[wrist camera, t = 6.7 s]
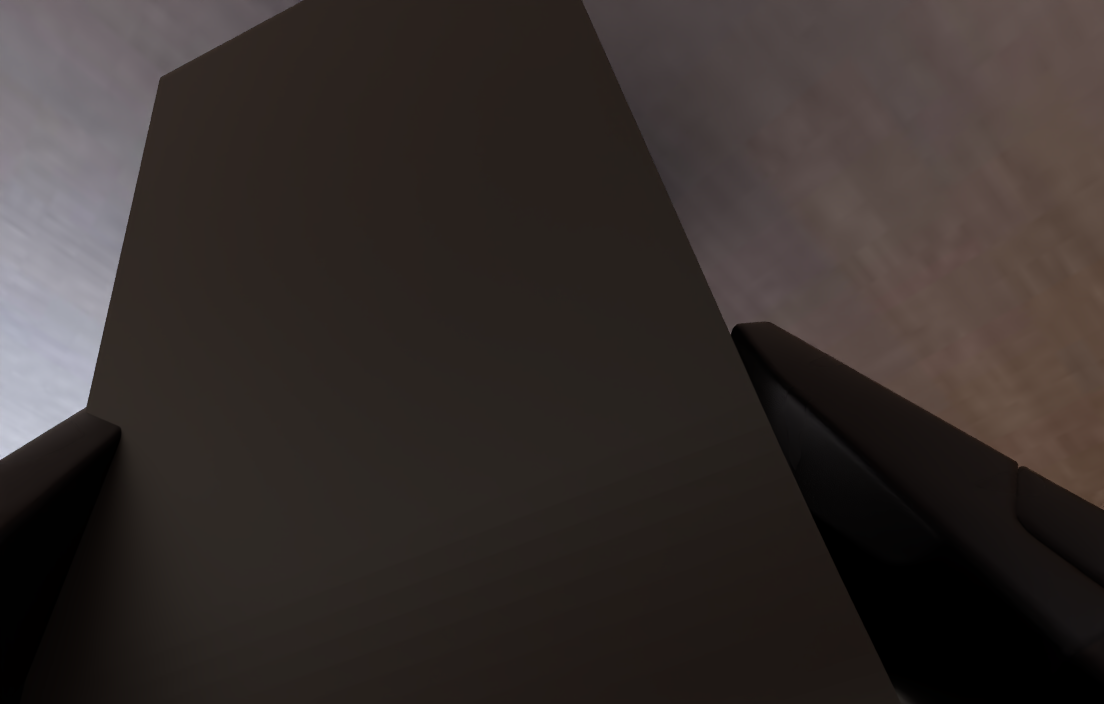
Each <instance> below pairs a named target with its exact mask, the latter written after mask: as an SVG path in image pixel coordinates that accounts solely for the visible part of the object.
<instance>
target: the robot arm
mask: <svg viewBox="0 0 1104 704" xmlns="http://www.w3.org/2000/svg"><path fill="white" fill-rule="evenodd" d="M731 337H732V340H733V342H734V344H735V346H736V349H737V351H738V353H739V355H740V358H741V360H742V362H743V364H744V367H745V369H746V371H747V373H748V376H749V378H750V380H751V382H752V385H753V387H754V389H755V391H756V394H757V396H758V398H759V400H760V403H761V405H762V407H763V409H764V412H765V414H766V416H767V418H768V420H769V423H770V425H771V427H772V429H773V432H774V434H775V436H776V438H777V440H778V443H779V445H780V447H781V449H782V452H783V454H784V456H785V458H786V460H787V463H788V465H789V467H790V469H791V471H792V474H793V476H794V478H795V480H796V482H797V484H798V487H799V489H800V491H801V493H802V495H803V498H804V500H805V502H806V504H807V506H808V508H809V511H810V513H811V515H812V517H813V519H814V521H815V524H816V526H817V528H818V530H819V532H820V534H821V536H822V539H823V541H824V543H825V545H826V547H827V549H828V551H829V553H830V556H831V558H832V560H833V562H834V564H835V566H836V568H837V570H838V573H839V575H840V577H841V579H842V581H843V583H844V585H845V587H846V589H847V591H848V594H849V596H850V598H851V600H852V602H853V604H854V606H855V608H856V610H857V612H858V614H859V616H860V618H861V621H862V623H863V625H864V627H865V629H866V631H867V633H868V635H869V637H870V639H871V641H872V643H873V645H874V647H875V650H876V652H877V654H878V656H879V658H880V660H881V662H882V664H883V666H884V668H885V670H886V673H887V675H888V677H889V679H890V681H891V683H892V685H893V687H894V689H895V692H896V694H897V696H898V698H899V700H900V702H901V704H1104V510H1103V509H1101V508H1099V507H1097V506H1095V505H1093V504H1092V503H1090V502H1088V501H1086V500H1084V499H1082V498H1081V497H1079V496H1077V495H1075V494H1073V493H1071V492H1069V491H1068V490H1066V489H1064V488H1062V487H1060V486H1058V485H1057V484H1055V483H1053V482H1051V481H1050V480H1048V479H1046V478H1044V477H1043V476H1041V475H1039V474H1037V473H1036V472H1034V471H1032V470H1030V469H1029V468H1027V467H1024V466H1021V467H1019V468H1018V464H1017V462H1016V461H1014V460H1012V459H1011V458H1009V457H1007V456H1005V455H1004V454H1002V453H1000V452H998V451H997V450H995V449H993V448H991V447H989V446H988V445H986V444H984V443H982V442H981V441H979V440H977V439H975V438H974V437H972V436H970V435H968V434H967V433H965V432H963V431H961V430H960V429H958V428H956V427H954V426H952V425H951V424H949V423H947V422H945V421H944V420H942V419H940V418H938V417H937V416H935V415H933V414H931V413H930V412H928V411H926V410H924V409H923V408H921V407H919V406H917V405H915V404H914V403H912V402H910V401H908V400H907V399H905V398H903V397H901V396H900V395H898V394H896V393H894V392H893V391H891V390H889V389H887V388H886V387H884V386H882V385H880V384H878V383H877V382H875V381H873V380H871V379H870V378H868V377H866V376H864V375H863V374H861V373H859V372H857V371H856V370H854V369H852V368H850V367H849V366H847V365H845V364H843V363H841V362H840V361H838V360H836V359H834V358H833V357H831V356H829V355H827V354H826V353H824V352H822V351H820V350H819V349H817V348H815V347H813V346H812V345H810V344H808V343H806V342H804V341H803V340H801V339H799V338H797V337H796V336H794V335H792V334H790V333H789V332H787V331H785V330H783V329H782V328H780V327H778V326H776V325H775V324H773V323H770V322H753V323H741V324H737V325H736V326H735V327H734V328H733V330H732V333H731ZM121 433H122V431H121V428H120V426H117V425H115V424H113V423H110V422H108V421H106V420H103V419H101V418H98V417H96V416H94V415H91V414H89V413H87V412H86V408H84V409H82V410H81V411H79V412H78V413H76V414H74V415H73V416H71V417H69V418H68V419H66V420H65V421H63V422H61V423H60V424H58V425H56V426H55V427H53V428H52V429H50V430H48V431H47V432H45V433H43V434H42V435H40V436H39V437H37V438H35V439H34V440H32V441H30V442H29V443H27V444H26V445H24V446H22V447H21V448H19V449H17V450H16V451H14V452H13V453H11V454H9V455H8V456H6V457H4V458H3V459H1V460H0V704H20V700H21V696H22V692H23V688H24V684H25V680H26V678H27V675H28V672H29V670H30V667H31V665H32V662H33V660H34V657H35V655H36V652H37V650H38V647H39V645H40V642H41V640H42V637H43V635H44V632H45V629H46V627H47V624H48V622H49V619H50V617H51V614H52V612H53V609H54V607H55V604H56V602H57V599H58V597H59V594H60V592H61V589H62V587H63V584H64V581H65V579H66V576H67V574H68V571H69V569H70V566H71V564H72V561H73V559H74V556H75V554H76V551H77V549H78V546H79V544H80V541H81V538H82V536H83V533H84V531H85V528H86V526H87V523H88V521H89V518H90V516H91V513H92V511H93V508H94V506H95V503H96V501H97V498H98V496H99V493H100V490H101V488H102V485H103V483H104V480H105V478H106V475H107V473H108V470H109V468H110V465H111V463H112V460H113V458H114V455H115V453H116V450H117V448H118V445H119V442H120V439H121Z"/></svg>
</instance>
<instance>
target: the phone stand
mask: <svg viewBox="0 0 1104 704" xmlns="http://www.w3.org/2000/svg"><path fill="white" fill-rule="evenodd" d="M86 412H87V413H89V414H91V415H94V416H96V417H98V418H101V419H103V420H106V421H108V422H110V423H113V424H115V425H117V426H120V428H121V431H122V433H121V439H120V442H119V445H118V448H117V450H116V453H115V455H114V458H113V460H112V463H111V465H110V468H109V470H108V473H107V475H106V478H105V480H104V483H103V485H102V488H101V490H100V493H99V496H98V498H97V501H96V503H95V506H94V508H93V511H92V513H91V516H90V518H89V521H88V523H87V526H86V528H85V531H84V533H83V536H82V538H81V541H80V544H79V546H78V549H77V551H76V554H75V556H74V559H73V561H72V564H71V566H70V569H69V571H68V574H67V576H66V579H65V581H64V584H63V587H62V589H61V592H60V594H59V597H58V599H57V602H56V604H55V607H54V609H53V612H52V614H51V617H50V619H49V622H48V624H47V627H46V629H45V632H44V635H43V637H42V640H41V642H40V645H39V647H38V650H37V652H36V655H35V657H34V660H33V662H32V665H31V667H30V670H29V672H28V675H27V678H26V680H25V684H24V688H23V692H22V696H21V700H20V704H901V702H900V700H899V698H898V696H897V694H896V692H895V689H894V687H893V685H892V683H891V681H890V679H889V677H888V675H887V673H886V670H885V668H884V666H883V664H882V662H881V660H880V658H879V656H878V654H877V652H876V650H875V647H874V645H873V643H872V641H871V639H870V637H869V635H868V633H867V631H866V629H865V627H864V625H863V623H862V621H861V618H860V616H859V614H858V612H857V610H856V608H855V606H854V604H853V602H852V600H851V598H850V596H849V594H848V591H847V589H846V587H845V585H844V583H843V581H842V579H841V577H840V575H839V573H838V570H837V568H836V566H835V564H834V562H833V560H832V558H831V556H830V553H829V551H828V549H827V547H826V545H825V543H824V541H823V539H822V536H821V534H820V532H819V530H818V528H817V526H816V524H815V521H814V519H813V517H812V515H811V513H810V511H809V508H808V506H807V504H806V502H805V500H804V498H803V495H802V493H801V491H800V489H799V487H798V484H797V482H796V480H795V478H794V476H793V474H792V471H791V469H790V467H789V465H788V463H787V460H786V458H785V456H784V454H783V452H782V449H781V447H780V445H779V443H778V440H777V438H776V436H775V434H774V432H773V429H772V427H771V425H770V423H769V420H768V418H767V416H766V414H765V412H764V409H763V407H762V405H761V403H760V400H759V398H758V396H757V394H756V391H755V389H754V387H753V385H752V382H751V380H750V378H749V376H748V373H747V371H746V369H745V367H744V364H743V362H742V360H741V358H740V355H739V353H738V351H737V349H736V346H735V344H734V342H733V340H732V337H731V335H730V333H729V331H728V328H727V326H726V324H725V322H724V319H723V317H722V315H721V313H720V310H719V308H718V306H717V304H716V301H715V299H714V297H713V295H712V292H711V290H710V288H709V286H708V283H707V281H706V279H705V277H704V274H703V272H702V270H701V268H700V265H699V263H698V261H697V259H696V256H695V254H694V252H693V250H692V247H691V245H690V243H689V241H688V238H687V236H686V234H685V232H684V229H683V227H682V225H681V223H680V220H679V218H678V216H677V214H676V211H675V209H674V207H673V205H672V202H671V200H670V198H669V196H668V193H667V191H666V189H665V187H664V184H663V182H662V180H661V178H660V175H659V173H658V171H657V169H656V166H655V164H654V162H653V160H652V157H651V155H650V153H649V151H648V148H647V146H646V144H645V142H644V139H643V137H642V135H641V133H640V130H639V128H638V126H637V124H636V121H635V119H634V117H633V115H632V112H631V110H630V108H629V106H628V103H627V101H626V99H625V97H624V94H623V92H622V90H621V88H620V85H619V83H618V81H617V79H616V76H615V74H614V72H613V70H612V67H611V65H610V63H609V61H608V58H607V56H606V54H605V52H604V50H603V47H602V45H601V43H600V41H599V38H598V36H597V34H596V32H595V29H594V27H593V25H592V23H591V20H590V18H589V16H588V14H587V11H586V9H585V7H584V5H583V2H582V0H303V1H301V2H300V3H298V4H296V5H294V6H292V7H290V8H288V9H287V10H285V11H283V12H281V13H279V14H277V15H275V16H274V17H272V18H270V19H268V20H266V21H264V22H262V23H261V24H259V25H257V26H255V27H253V28H251V29H250V30H248V31H246V32H244V33H242V34H240V35H238V36H237V37H235V38H233V39H231V40H229V41H227V42H225V43H224V44H222V45H220V46H218V47H216V48H214V49H212V50H211V51H209V52H207V53H205V54H203V55H201V56H199V57H198V58H196V59H194V60H192V61H190V62H188V63H186V64H185V65H183V66H181V67H179V68H177V69H175V70H173V71H172V72H170V73H168V74H166V75H164V76H162V77H161V78H160V81H159V85H158V90H157V94H156V99H155V103H154V108H153V112H152V117H151V121H150V125H149V130H148V134H147V139H146V143H145V148H144V152H143V157H142V161H141V166H140V170H139V175H138V179H137V184H136V188H135V193H134V197H133V202H132V206H131V210H130V215H129V219H128V224H127V228H126V233H125V237H124V242H123V246H122V251H121V255H120V260H119V264H118V269H117V273H116V278H115V282H114V287H113V291H112V295H111V300H110V304H109V309H108V313H107V318H106V322H105V327H104V331H103V336H102V340H101V345H100V349H99V354H98V358H97V363H96V367H95V372H94V376H93V381H92V385H91V389H90V394H89V398H88V403H87V407H86Z"/></svg>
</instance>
